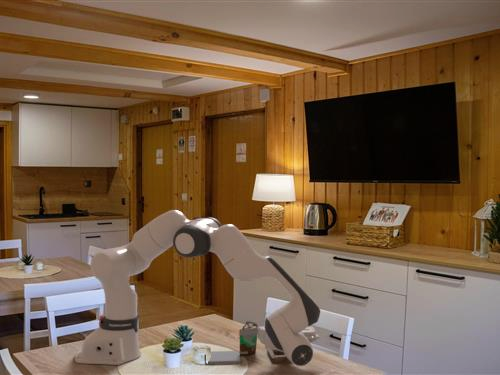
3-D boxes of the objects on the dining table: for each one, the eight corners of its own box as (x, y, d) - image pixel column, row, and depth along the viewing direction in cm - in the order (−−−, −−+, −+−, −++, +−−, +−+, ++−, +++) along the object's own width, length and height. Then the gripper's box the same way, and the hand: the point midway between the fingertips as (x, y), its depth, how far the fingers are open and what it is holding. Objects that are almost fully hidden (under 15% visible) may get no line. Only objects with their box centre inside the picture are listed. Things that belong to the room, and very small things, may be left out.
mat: (206, 364, 175) (206, 361, 175) (204, 354, 185) (204, 351, 185) (241, 363, 177) (241, 360, 177) (237, 353, 187) (237, 350, 187)
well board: (272, 362, 179) (272, 358, 179) (267, 352, 189) (267, 348, 188) (299, 361, 180) (300, 357, 180) (293, 352, 190) (293, 348, 190)
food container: (255, 358, 182) (256, 331, 182) (238, 357, 183) (239, 329, 183) (261, 347, 194) (262, 321, 194) (245, 346, 195) (246, 320, 195)
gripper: (321, 329, 173) (310, 318, 187) (261, 330, 170) (255, 318, 184) (320, 348, 173) (310, 335, 187) (261, 348, 170) (254, 335, 184)
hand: (282, 327), depth 185 cm, fingers closed on sage block, 5 cm apart
